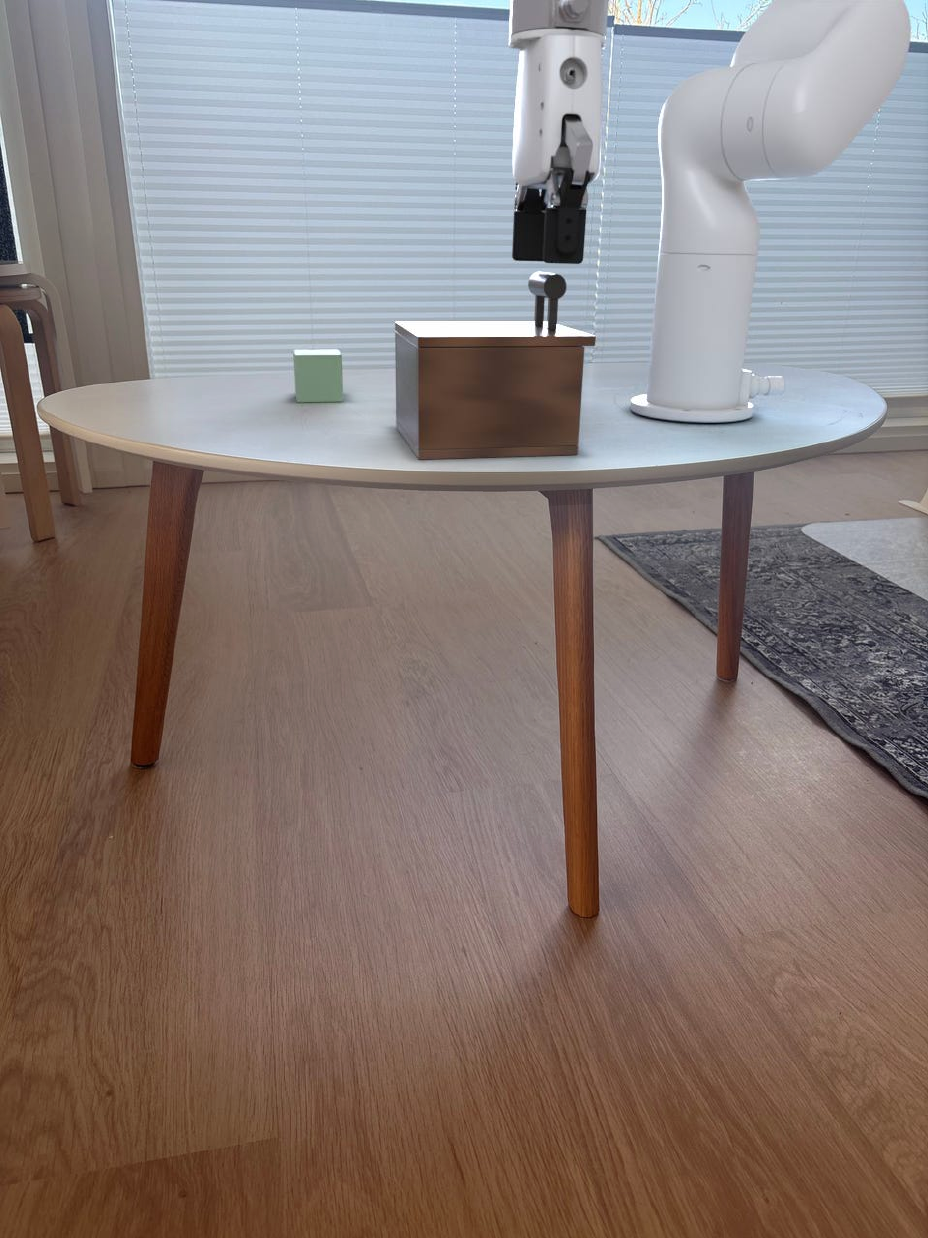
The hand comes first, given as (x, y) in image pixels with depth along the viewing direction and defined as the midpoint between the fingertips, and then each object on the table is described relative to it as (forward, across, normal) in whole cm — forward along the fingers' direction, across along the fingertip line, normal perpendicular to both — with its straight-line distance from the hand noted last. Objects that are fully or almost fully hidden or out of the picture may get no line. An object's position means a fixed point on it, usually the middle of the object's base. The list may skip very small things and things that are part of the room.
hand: (545, 261), depth 78 cm
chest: (+15, 0, +5) cm, 16 cm away
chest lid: (+6, 0, +5) cm, 8 cm away
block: (+15, +25, +18) cm, 34 cm away
